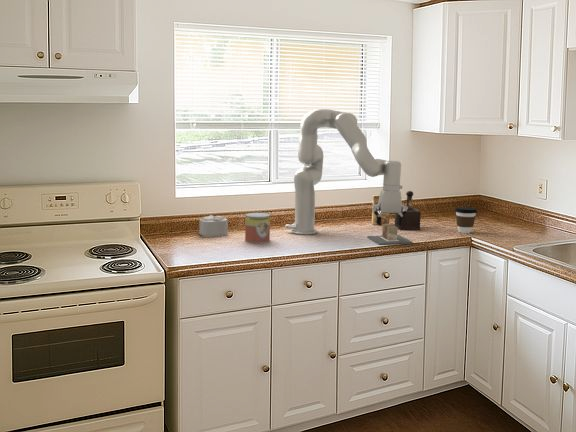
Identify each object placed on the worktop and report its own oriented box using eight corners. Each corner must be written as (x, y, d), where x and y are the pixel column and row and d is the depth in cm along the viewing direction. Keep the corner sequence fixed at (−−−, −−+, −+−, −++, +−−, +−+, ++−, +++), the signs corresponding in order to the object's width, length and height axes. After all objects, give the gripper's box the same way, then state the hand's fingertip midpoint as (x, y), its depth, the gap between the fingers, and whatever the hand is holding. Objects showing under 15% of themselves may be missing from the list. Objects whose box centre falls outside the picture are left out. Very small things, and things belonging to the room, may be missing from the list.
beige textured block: (382, 237, 304) (382, 224, 303) (390, 236, 305) (390, 224, 304) (388, 240, 296) (389, 227, 295) (396, 240, 297) (397, 227, 296)
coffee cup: (473, 235, 316) (474, 210, 314) (450, 232, 321) (452, 208, 319) (478, 231, 325) (480, 207, 323) (456, 229, 330) (458, 205, 328)
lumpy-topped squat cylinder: (197, 233, 311) (197, 215, 310) (223, 231, 317) (223, 213, 316) (205, 237, 302) (204, 219, 301) (231, 235, 308) (231, 217, 306)
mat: (379, 244, 291) (379, 242, 291) (367, 237, 306) (367, 235, 306) (412, 243, 295) (412, 241, 294) (398, 236, 310) (399, 234, 310)
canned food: (252, 244, 289) (252, 217, 287) (240, 239, 298) (240, 213, 296) (274, 241, 295) (274, 215, 293) (262, 237, 304) (262, 211, 302)
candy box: (372, 224, 339) (373, 195, 337) (371, 223, 344) (372, 194, 341) (389, 225, 339) (390, 196, 336) (388, 223, 343) (389, 194, 341)
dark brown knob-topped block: (421, 230, 327) (423, 194, 324) (400, 230, 326) (402, 194, 322) (410, 224, 342) (412, 190, 339) (390, 224, 341) (392, 190, 338)
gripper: (405, 187, 302) (403, 223, 305) (370, 186, 298) (368, 223, 301) (412, 189, 295) (409, 226, 298) (376, 189, 291) (373, 226, 294)
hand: (388, 224), depth 299 cm, fingers open, 9 cm apart
